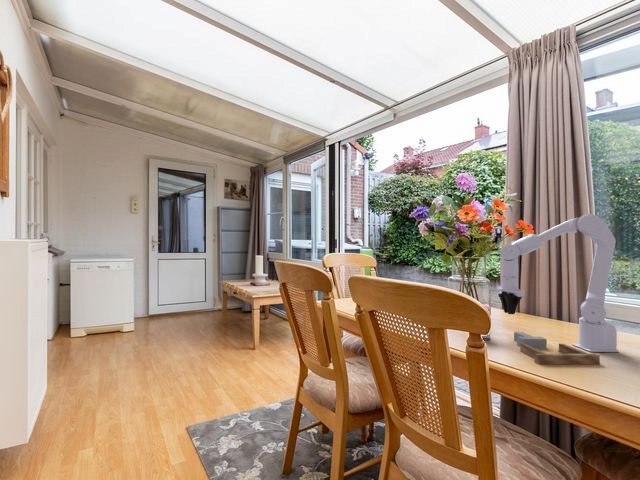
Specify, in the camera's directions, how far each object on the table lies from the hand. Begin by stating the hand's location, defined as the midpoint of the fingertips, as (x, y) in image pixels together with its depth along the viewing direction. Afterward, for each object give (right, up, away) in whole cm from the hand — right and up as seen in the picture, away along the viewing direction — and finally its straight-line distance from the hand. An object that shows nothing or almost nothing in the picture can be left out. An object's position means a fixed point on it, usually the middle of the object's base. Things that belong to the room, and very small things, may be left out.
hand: (509, 313), depth 127 cm
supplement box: (-12, -9, -2) cm, 15 cm away
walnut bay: (0, -8, -23) cm, 24 cm away
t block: (0, -8, -10) cm, 13 cm away
